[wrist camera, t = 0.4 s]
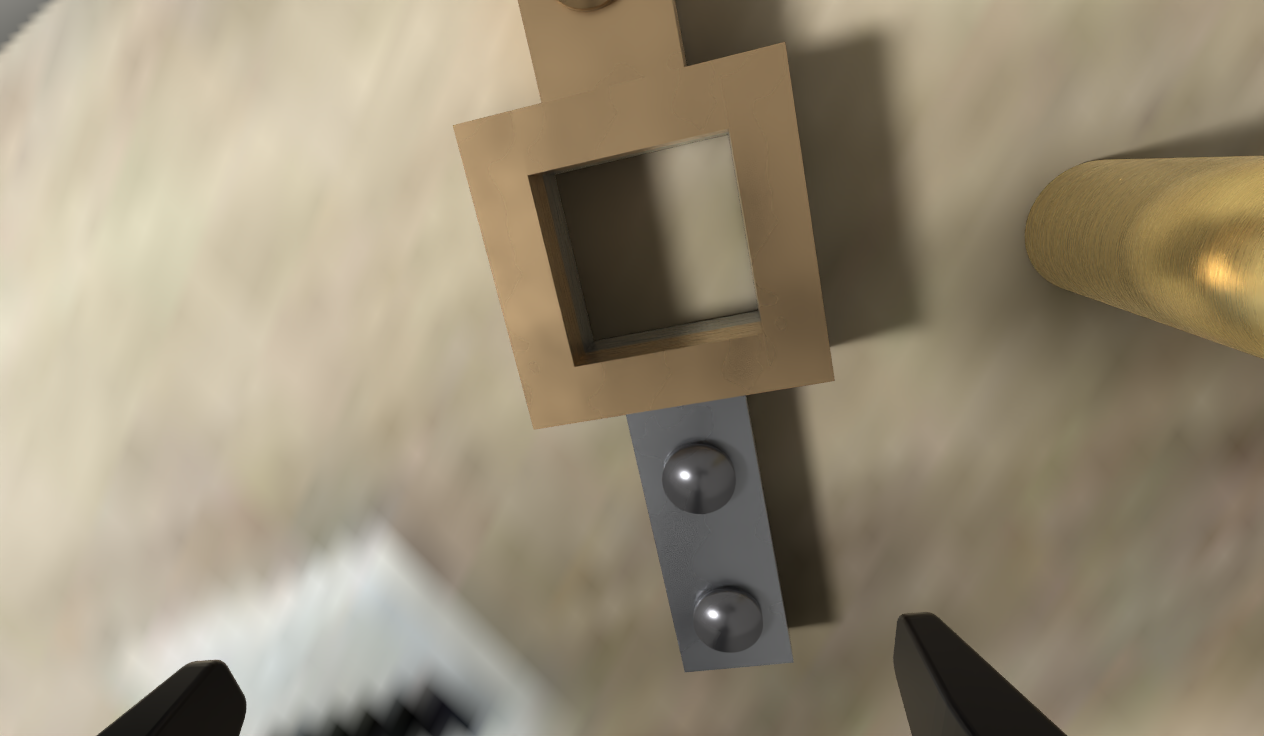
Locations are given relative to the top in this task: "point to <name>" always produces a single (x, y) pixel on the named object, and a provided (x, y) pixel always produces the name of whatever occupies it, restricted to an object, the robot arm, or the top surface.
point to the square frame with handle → (674, 356)
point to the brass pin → (1160, 241)
